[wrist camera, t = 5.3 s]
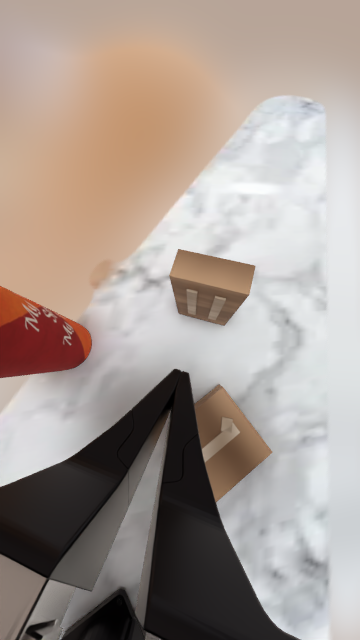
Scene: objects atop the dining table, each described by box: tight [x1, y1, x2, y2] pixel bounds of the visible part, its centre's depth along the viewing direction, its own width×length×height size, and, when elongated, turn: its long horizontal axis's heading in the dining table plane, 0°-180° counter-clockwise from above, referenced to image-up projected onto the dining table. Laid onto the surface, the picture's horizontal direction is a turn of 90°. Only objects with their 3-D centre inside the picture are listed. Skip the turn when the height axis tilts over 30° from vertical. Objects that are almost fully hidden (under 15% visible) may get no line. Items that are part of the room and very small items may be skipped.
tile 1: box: [194, 385, 272, 502], centre depth 18 cm, size 7×7×3 cm
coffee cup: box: [0, 286, 92, 378], centre depth 16 cm, size 8×8×15 cm
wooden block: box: [169, 249, 255, 326], centre depth 18 cm, size 3×6×10 cm, turn 73°
